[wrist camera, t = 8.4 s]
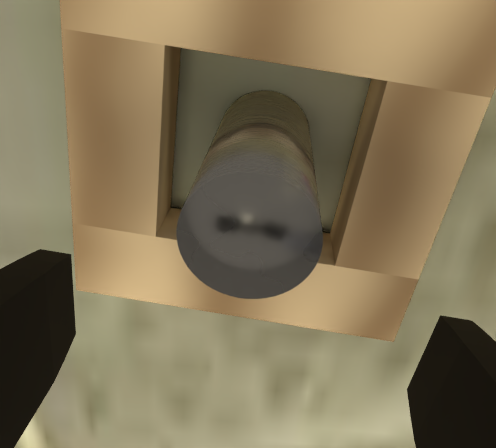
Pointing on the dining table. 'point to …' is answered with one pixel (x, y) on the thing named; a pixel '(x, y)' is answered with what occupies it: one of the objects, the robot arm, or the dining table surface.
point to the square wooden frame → (360, 165)
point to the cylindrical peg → (254, 202)
